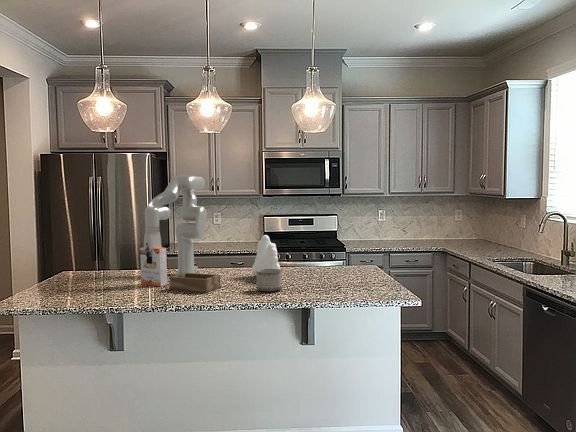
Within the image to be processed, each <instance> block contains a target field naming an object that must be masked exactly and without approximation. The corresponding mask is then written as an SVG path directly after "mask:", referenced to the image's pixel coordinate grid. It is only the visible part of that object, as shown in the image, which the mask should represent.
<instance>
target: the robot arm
mask: <svg viewBox="0 0 576 432" xmlns="http://www.w3.org/2000/svg"><path fill="white" fill-rule="evenodd" d="M205 186H206V182H205V179H204V178H203V177H202V176H199V175H198V176H196V175H176V176H173V177H172V178H171V180H170V181H169V183H168V185H166V188H165V189H164V191H163V192H161V193H159V194H158V195H156V196H155V197H154V198H152V199H151V200H150V201H149V202H148V204H147V206H146V208H145V209H144V224H145V228H144V229H145V232H144V237H143V247H144V249H143V252H144V253H145V255H146V256H147V264H152V256H151V254H152V251H153V248H158V247H160V248H164V247H163V245H162V237H161V232H160V221H166V220H168V219H169V218H170V217H171V215H172V211H171V209H170V208H169V207H168V206H167V205H169V204H172V203H174V202H176V201H177V200H178V198H179V196H180V195H182V205H181V210H180V219H181V220H182V221H185V222H181V223H179V224H177V225H176V227H175V235H176V240H177V241H176V242H177V262H178V265H177V267H178V268H177V269H178V271H176V272H175V275H179V274H182V273H198V271H197V269H198V267H199V266H197V265H195V254H194V253H195V250H194V247H195V246H194V242H193V240H196V239H197V240H198V239H202V238H203V237H204V234H205V230H206V222H207V216H208V215H207V213H208V212H207V209H206V208H205V207H204V206H202V205H198V204H197V202H198V197H197V195H196V194H195V192H194V191H203V190H204V188H205ZM149 252H150V253H149Z"/></svg>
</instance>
